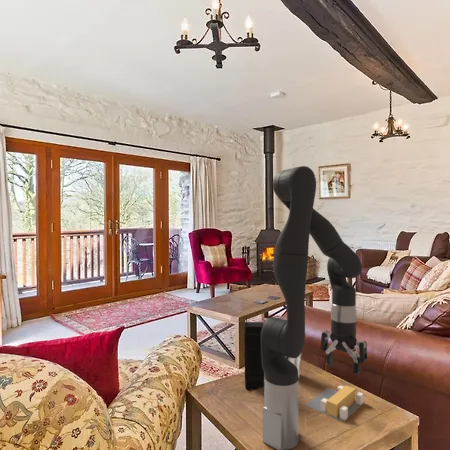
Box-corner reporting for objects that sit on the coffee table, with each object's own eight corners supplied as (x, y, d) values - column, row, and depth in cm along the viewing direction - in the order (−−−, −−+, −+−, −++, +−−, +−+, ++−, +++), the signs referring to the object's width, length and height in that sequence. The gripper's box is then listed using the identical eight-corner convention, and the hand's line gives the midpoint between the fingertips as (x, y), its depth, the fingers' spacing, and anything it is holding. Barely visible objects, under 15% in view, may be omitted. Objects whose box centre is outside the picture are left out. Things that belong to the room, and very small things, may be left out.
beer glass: (294, 371, 136) (294, 333, 136) (305, 379, 130) (305, 339, 129) (279, 375, 134) (278, 336, 133) (289, 383, 127) (289, 342, 127)
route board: (343, 425, 102) (343, 412, 102) (304, 408, 111) (304, 395, 111) (364, 404, 113) (364, 392, 113) (327, 390, 122) (327, 379, 122)
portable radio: (266, 381, 129) (266, 314, 128) (267, 390, 123) (266, 319, 122) (245, 380, 129) (244, 314, 128) (244, 389, 124) (244, 319, 122)
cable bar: (336, 417, 104) (336, 404, 104) (326, 413, 107) (326, 400, 106) (355, 400, 114) (355, 388, 113) (346, 396, 116) (346, 385, 116)
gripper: (316, 315, 111) (316, 366, 112) (360, 325, 101) (359, 381, 102) (328, 311, 117) (328, 359, 117) (371, 320, 107) (370, 373, 107)
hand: (342, 369), depth 109 cm, fingers open, 8 cm apart
